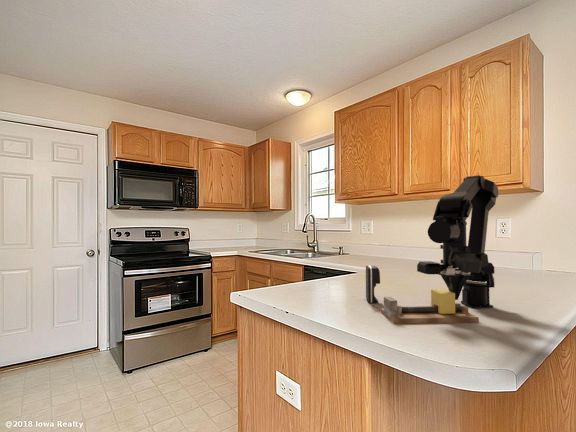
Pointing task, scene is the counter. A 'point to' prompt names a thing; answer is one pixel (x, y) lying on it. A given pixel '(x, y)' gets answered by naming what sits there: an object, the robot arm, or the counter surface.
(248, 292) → the counter surface
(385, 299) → the sliding clamp fixture
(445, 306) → the pale yellow cube
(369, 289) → the black silver-edged device
